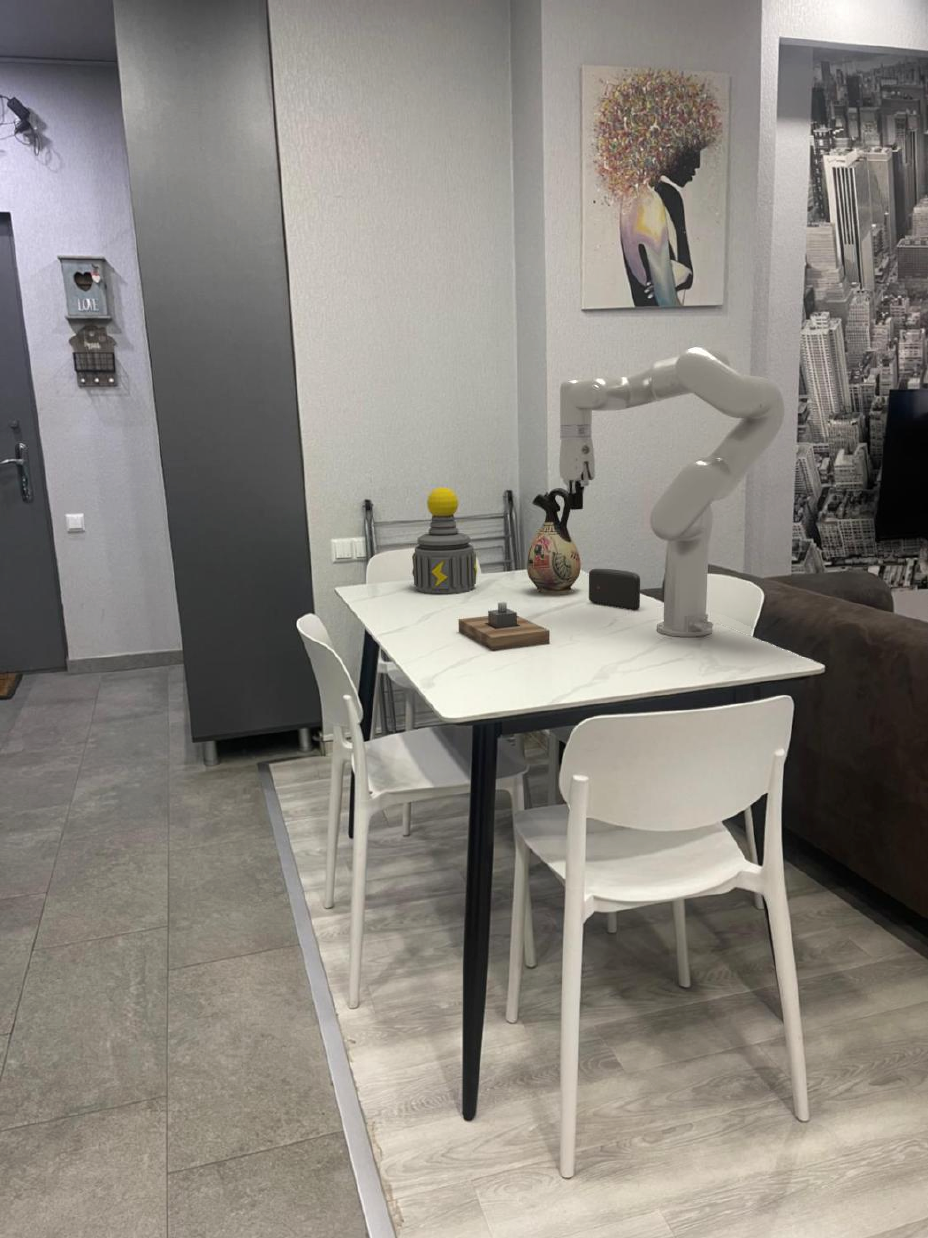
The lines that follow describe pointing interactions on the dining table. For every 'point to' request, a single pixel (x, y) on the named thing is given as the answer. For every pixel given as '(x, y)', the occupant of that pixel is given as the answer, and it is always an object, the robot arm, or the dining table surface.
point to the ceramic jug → (553, 548)
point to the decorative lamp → (444, 550)
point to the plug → (502, 617)
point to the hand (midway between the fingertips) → (575, 509)
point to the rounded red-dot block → (614, 588)
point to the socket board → (504, 633)
